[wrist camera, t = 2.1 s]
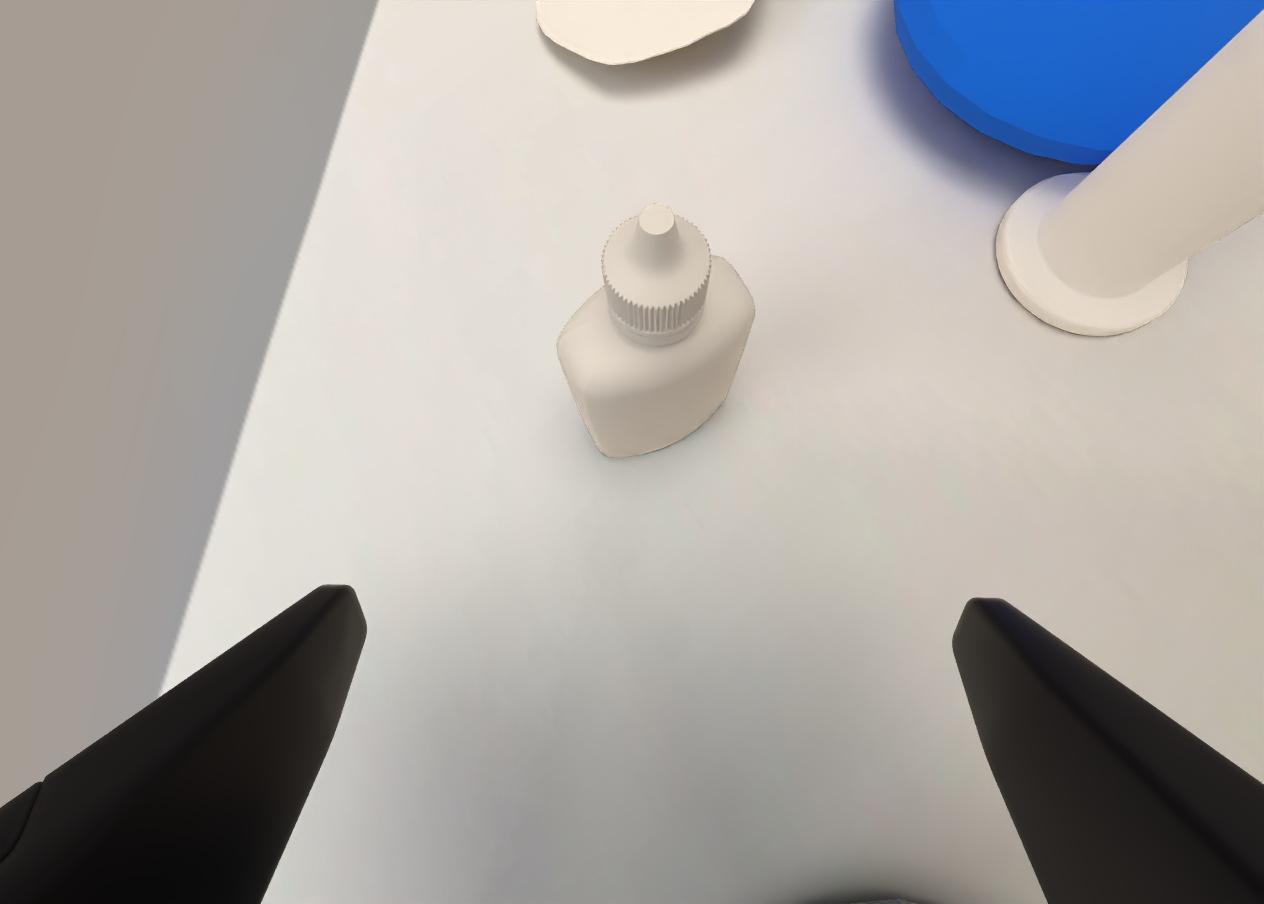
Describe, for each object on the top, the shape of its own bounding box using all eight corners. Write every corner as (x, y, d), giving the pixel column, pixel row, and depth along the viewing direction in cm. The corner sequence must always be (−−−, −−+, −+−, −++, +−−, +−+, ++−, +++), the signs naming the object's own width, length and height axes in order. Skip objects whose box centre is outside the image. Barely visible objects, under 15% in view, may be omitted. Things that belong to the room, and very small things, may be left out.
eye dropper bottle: (587, 354, 24) (521, 125, 12) (725, 355, 23) (797, 123, 12) (582, 459, 23) (505, 321, 11) (727, 461, 22) (807, 322, 11)
